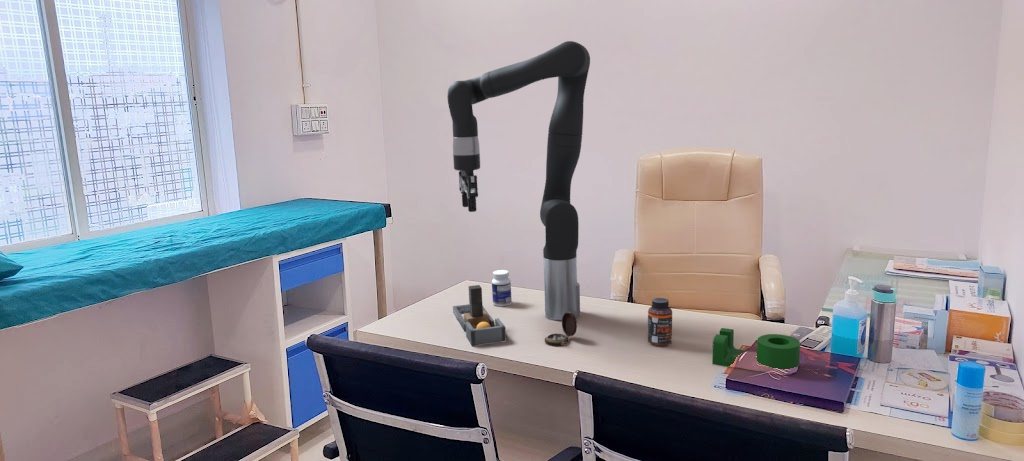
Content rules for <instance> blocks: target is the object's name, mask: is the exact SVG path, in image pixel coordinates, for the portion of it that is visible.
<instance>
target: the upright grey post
mask: <svg viewBox="0 0 1024 461" xmlns="http://www.w3.org/2000/svg"><path fill="white" fill-rule="evenodd" d="M482 290H483V288H482V286H481V285H480V284H476V285H468V299H469V300H468V301H469V302H468V303H469V305H470V312H465V313H463V319H464V320H465V322H470V324H471V326H472V327H473V329H476V327H477V325H478V324H479V323H480V322H487V323H489V316H488V314H489V313H488V314H487V313H486V312H485V311H483V307H484V305H483V291H482ZM489 324H490V323H489Z"/></svg>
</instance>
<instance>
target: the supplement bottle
mask: <svg viewBox="0 0 1024 461" xmlns="http://www.w3.org/2000/svg"><path fill="white" fill-rule="evenodd" d="M669 301H670V300H669V299H667V298H665V297H655V298H652V300H651V304H652V305H651V306H650V307H649V308H648V311H647V343H649V345H652V346H653V347H667V346H670V345H671V344H672V341H673V310H672V308H671V307H669V305H670V304H669V303H670V302H669Z"/></svg>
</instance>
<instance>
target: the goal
mask: <svg viewBox="0 0 1024 461" xmlns="http://www.w3.org/2000/svg"><path fill="white" fill-rule="evenodd" d="M465 323H466V332H465V337H466V339H467V340H468V342H469V343H470V344H469V345H471V347H474V346H481V345H489V344H496V343H503V342H507V335H506V326H505V324H504V323H503V322H502V321H501V319H500V318H494V327H488V328H480V329H473V327H472V326H471V324H470V322H465Z"/></svg>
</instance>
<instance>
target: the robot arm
mask: <svg viewBox="0 0 1024 461" xmlns="http://www.w3.org/2000/svg"><path fill="white" fill-rule="evenodd" d="M590 65H591V56H590V52H589V51H588V49H587V48H586V47H585V46H584V45H582V44H581V43H578V42H577V41H572V40H569V41H568V40H567V41H566V40H565V41H564V42H561V43H560V44H558V45H556V46H554V47H553V48H551V49H549V50H547V51H545V52H542V53H541V54H538V55H536V56H534V57H531V58H529V59H526V60H523V61H520V62H516V63H513V64H509V65H506V66H502V67H500V68H496V69H493V70H490V71H488V72H484V73H483V74H482V75H481V76H477V77H473V78H469V79H466V80H456V81H453V82H452V83H451V84H450V85H449V87H448V90H447V104H448V109H449V114H450V117H451V122H452V158H453V169H454V170H455V171H458V183H459V184H458V185H459V187H458V188H459V189H458V190H459V191H460V194H461V203H462V204H461V205H462V207H463V208H467V210H468V212H470V213H473V212H476V211H477V198H478V197H479V192H478V190H479V188H478V176H477V175H476V174H474V171H477V170H479V169H481V154H480V140H479V129H478V120H477V117H476V116H475V115H474V112H473V105H475V104H478V103H481V102H484V101H486V100H488V99H492V98H496V97H500V96H502V95H504V96H505V95H507V94H509V93H512V92H515V91H518V90H520V89H522V88H524V87H526V86H529V85H531V84H534V83H537V82H539V81H543V80H546V79H547V80H548V79H552V78H553V79H554V78H557V79H558V80H557V81H558V82H557V96H556V101H555V103H554V107H553V110H552V113H551V116H550V122H549V125H548V131H547V132H548V134H547V141H546V142H547V143H546V144H547V145H546V162H545V163H546V164H545V167H546V168H545V183H544V188H543V189H544V190H543V195H542V199H541V206H540V212H539V218H540V220H541V221H540V222H541V223H542V225H543V226H544V227H545V244H544V247H543V249H542V251H543V252H542V253H543V255H542V256H543V283H544V284H543V286H544V313H545V317H546V318H547V319H549V320H554V321H562V317H563V315H564V314H565V313H566V312H571V313H573V314H574V316H575V318H577V317H581V296H580V294H581V292H580V291H581V289H580V283H579V282H578V270H577V269H578V267H577V264H578V262H577V255H578V254H577V252H578V251H577V250H578V248H579V214H578V211H577V209H576V207H575V206H574V205H573V204H572V203H571V189H572V187H571V186H572V180H573V177H574V173H575V170H576V167H577V165H578V163H579V159H580V156H581V155H580V154H581V149H582V141H583V131H584V130H583V128H584V126H583V125H584V98H585V90H586V86H587V80H588V76H589V70H590Z"/></svg>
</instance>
